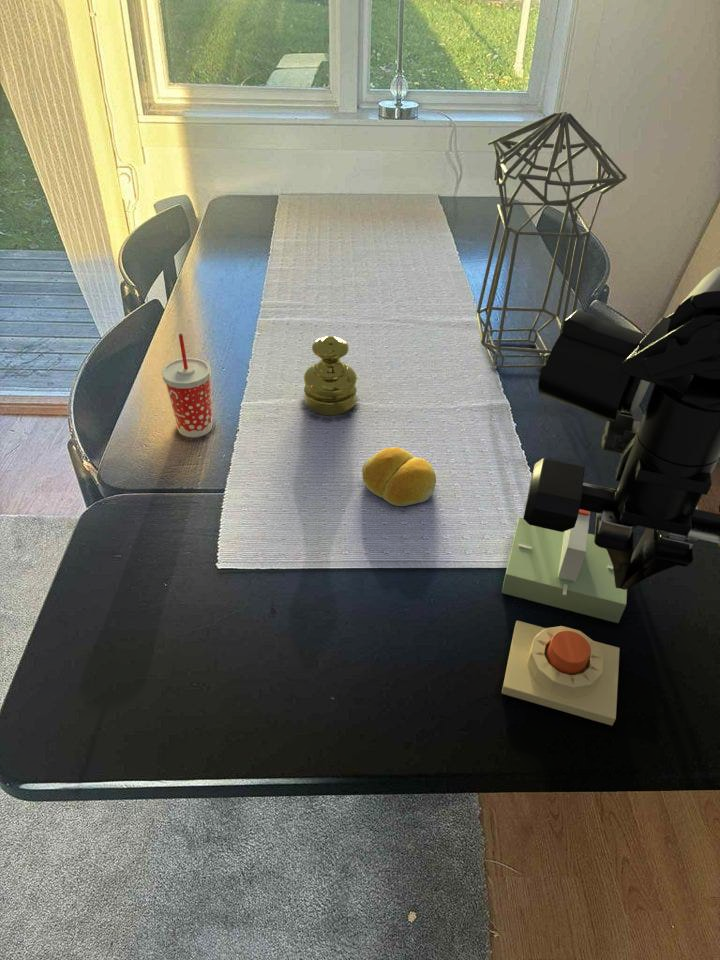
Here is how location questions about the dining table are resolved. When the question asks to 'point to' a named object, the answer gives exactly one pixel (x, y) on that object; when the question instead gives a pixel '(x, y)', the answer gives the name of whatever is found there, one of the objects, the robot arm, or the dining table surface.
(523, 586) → the panel
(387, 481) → the bread roll
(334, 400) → the gold tiered piece
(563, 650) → the button
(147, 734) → the dining table surface
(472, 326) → the dining table surface
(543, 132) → the geometric lantern
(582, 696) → the button box
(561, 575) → the white switch lever
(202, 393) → the beverage cup
